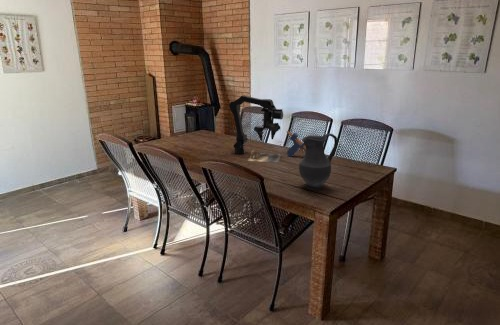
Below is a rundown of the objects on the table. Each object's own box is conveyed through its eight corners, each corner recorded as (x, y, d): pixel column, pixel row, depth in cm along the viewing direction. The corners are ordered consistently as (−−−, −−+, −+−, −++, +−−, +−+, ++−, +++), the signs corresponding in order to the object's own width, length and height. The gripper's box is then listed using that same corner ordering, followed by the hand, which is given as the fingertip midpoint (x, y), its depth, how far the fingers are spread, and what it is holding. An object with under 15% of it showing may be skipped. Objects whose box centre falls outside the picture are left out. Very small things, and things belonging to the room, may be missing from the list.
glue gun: (309, 172, 247) (322, 157, 241) (275, 146, 246) (288, 130, 240) (309, 169, 252) (323, 154, 246) (276, 143, 252) (289, 128, 246)
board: (247, 162, 235) (247, 157, 234) (251, 157, 248) (251, 152, 247) (277, 164, 231) (278, 159, 229) (280, 158, 244) (280, 153, 243)
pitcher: (294, 183, 198) (296, 131, 189) (327, 180, 202) (330, 130, 193) (305, 194, 181) (308, 139, 172) (341, 191, 186) (345, 137, 177)
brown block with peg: (250, 159, 236) (250, 152, 234) (253, 155, 245) (253, 149, 243) (256, 160, 235) (256, 153, 233) (259, 156, 244) (259, 149, 243)
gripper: (262, 121, 224) (262, 144, 229) (285, 119, 234) (284, 141, 239) (253, 118, 233) (253, 140, 238) (276, 116, 243) (275, 137, 248)
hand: (266, 140), depth 240 cm, fingers open, 9 cm apart
